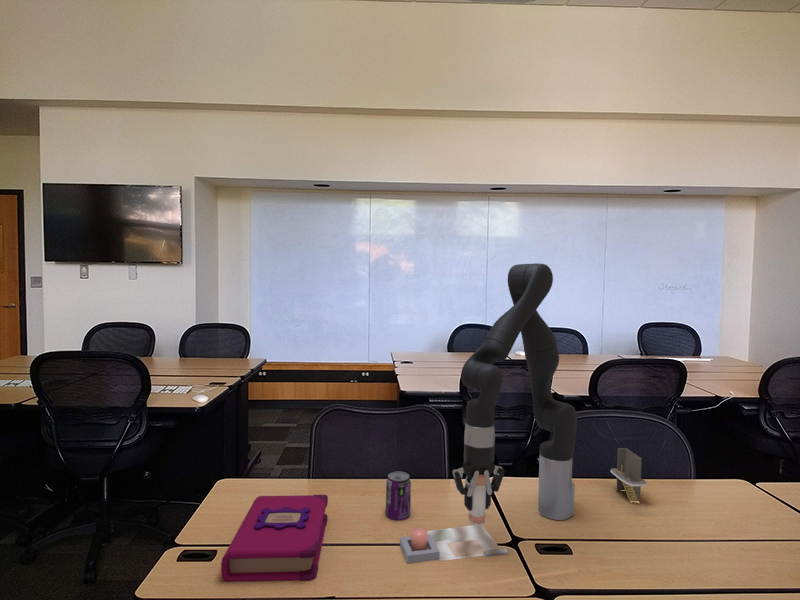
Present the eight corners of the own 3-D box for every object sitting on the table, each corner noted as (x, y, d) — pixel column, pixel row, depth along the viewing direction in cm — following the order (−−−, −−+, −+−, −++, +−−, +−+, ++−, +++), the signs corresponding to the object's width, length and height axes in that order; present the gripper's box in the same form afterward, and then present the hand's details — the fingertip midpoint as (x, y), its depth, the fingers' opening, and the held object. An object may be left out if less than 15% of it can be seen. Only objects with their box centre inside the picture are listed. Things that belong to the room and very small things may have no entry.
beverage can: (407, 524, 128) (408, 482, 128) (383, 521, 129) (383, 479, 129) (412, 512, 135) (412, 472, 135) (388, 509, 136) (389, 469, 136)
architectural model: (618, 518, 134) (619, 469, 133) (579, 481, 159) (580, 439, 158) (682, 517, 135) (684, 468, 134) (634, 481, 160) (635, 439, 159)
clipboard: (484, 524, 129) (484, 519, 129) (511, 557, 113) (511, 552, 113) (416, 532, 124) (416, 527, 124) (433, 567, 109) (434, 562, 108)
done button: (424, 542, 116) (424, 526, 116) (429, 551, 112) (429, 535, 112) (409, 544, 115) (409, 528, 115) (413, 553, 111) (413, 537, 111)
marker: (481, 516, 119) (482, 468, 118) (488, 524, 114) (489, 475, 114) (466, 517, 118) (467, 469, 117) (472, 525, 114) (473, 476, 113)
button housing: (429, 543, 119) (429, 534, 119) (439, 561, 111) (439, 551, 111) (399, 547, 117) (399, 537, 117) (407, 566, 109) (407, 555, 109)
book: (221, 584, 102) (221, 551, 102) (254, 519, 130) (254, 493, 130) (315, 582, 103) (316, 549, 103) (328, 518, 131) (328, 492, 131)
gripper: (498, 435, 121) (496, 499, 121) (447, 437, 117) (445, 503, 118) (512, 445, 113) (509, 513, 114) (457, 448, 110) (455, 518, 111)
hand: (477, 508), depth 116 cm, fingers closed on marker, 4 cm apart
